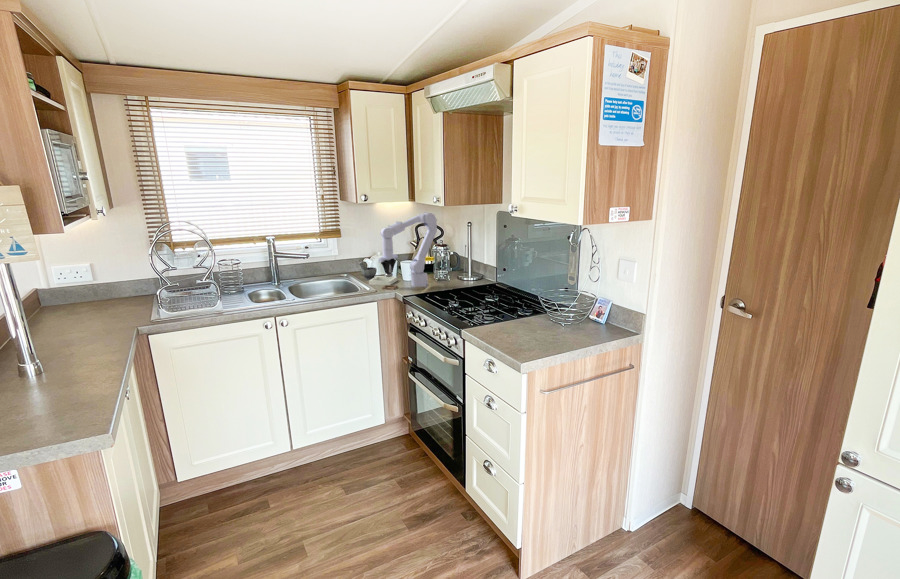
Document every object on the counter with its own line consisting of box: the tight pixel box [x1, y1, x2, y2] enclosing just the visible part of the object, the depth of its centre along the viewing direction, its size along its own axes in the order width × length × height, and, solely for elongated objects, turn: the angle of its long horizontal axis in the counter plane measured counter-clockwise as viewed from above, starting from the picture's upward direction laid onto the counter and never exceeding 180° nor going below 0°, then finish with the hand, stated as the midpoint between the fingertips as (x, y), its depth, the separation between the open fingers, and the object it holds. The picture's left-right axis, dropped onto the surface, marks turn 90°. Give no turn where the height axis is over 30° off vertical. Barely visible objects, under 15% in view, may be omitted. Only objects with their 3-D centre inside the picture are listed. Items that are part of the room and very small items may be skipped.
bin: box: [368, 275, 398, 286], centre depth 268 cm, size 13×13×4 cm
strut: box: [385, 264, 394, 277], centre depth 251 cm, size 4×4×7 cm
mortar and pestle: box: [358, 260, 378, 281], centre depth 282 cm, size 11×9×12 cm
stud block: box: [381, 284, 398, 291], centre depth 253 cm, size 10×10×2 cm
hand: (389, 272), depth 251 cm, fingers closed on strut, 3 cm apart
